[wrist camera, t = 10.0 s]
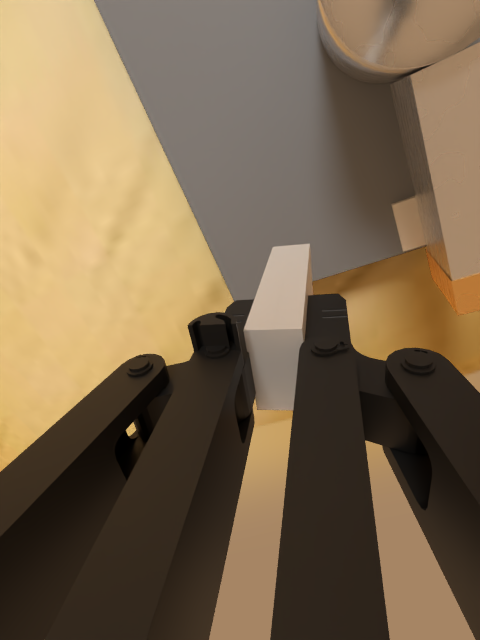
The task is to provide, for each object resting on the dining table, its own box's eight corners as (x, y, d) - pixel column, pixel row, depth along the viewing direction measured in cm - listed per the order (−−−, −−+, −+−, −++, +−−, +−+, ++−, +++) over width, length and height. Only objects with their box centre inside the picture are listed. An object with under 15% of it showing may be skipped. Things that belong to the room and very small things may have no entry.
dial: (296, -48, 15) (283, -136, 10) (460, -156, 13) (556, -344, 7) (387, 278, 20) (410, 333, 15) (511, 242, 18) (585, 290, 13)
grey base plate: (54, -122, 17) (19, -154, 15) (809, -843, 8) (962, -1141, 6) (241, 292, 25) (235, 307, 23) (711, 140, 17) (763, 144, 15)
